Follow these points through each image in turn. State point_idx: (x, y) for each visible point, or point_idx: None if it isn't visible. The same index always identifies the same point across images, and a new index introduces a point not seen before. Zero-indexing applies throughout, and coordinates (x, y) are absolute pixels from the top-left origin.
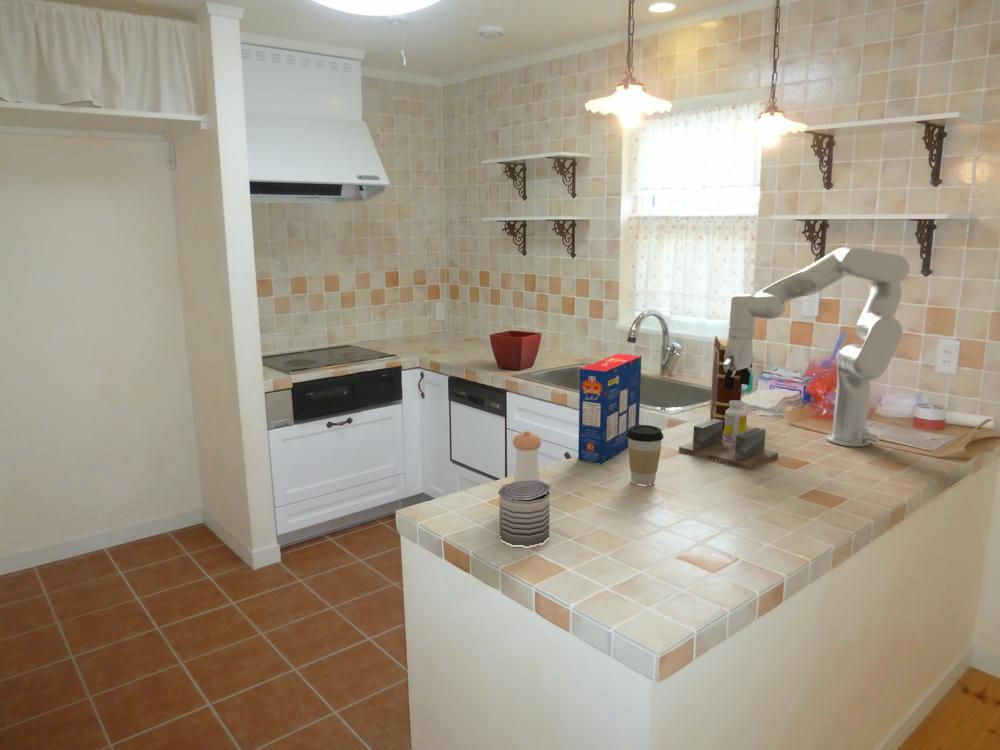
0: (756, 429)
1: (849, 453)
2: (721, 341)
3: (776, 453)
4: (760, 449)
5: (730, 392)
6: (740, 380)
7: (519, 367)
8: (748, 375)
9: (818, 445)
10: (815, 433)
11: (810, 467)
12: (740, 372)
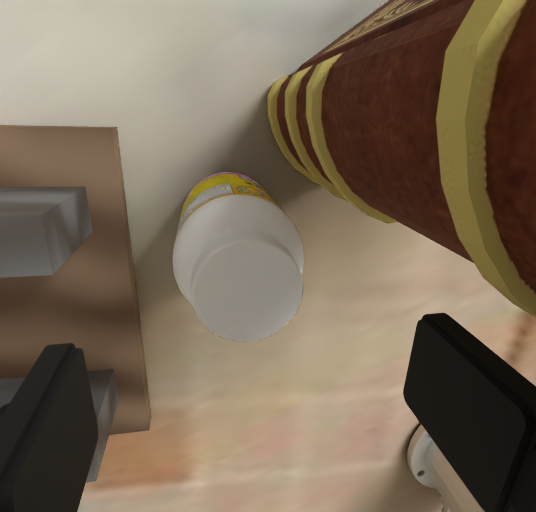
0: None
1: (348, 488)
2: None
3: (139, 429)
4: None
5: (376, 189)
6: (439, 344)
7: None
8: (470, 490)
9: (370, 417)
10: None
11: (146, 500)
12: (531, 408)
